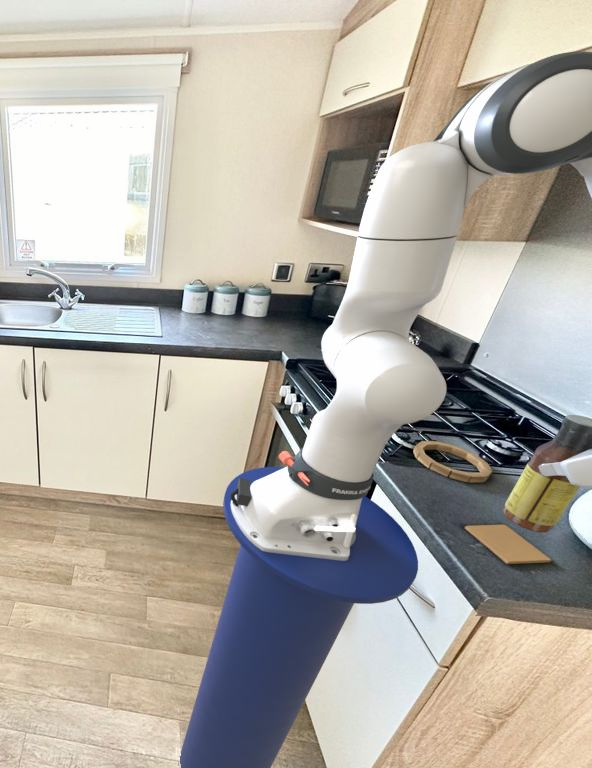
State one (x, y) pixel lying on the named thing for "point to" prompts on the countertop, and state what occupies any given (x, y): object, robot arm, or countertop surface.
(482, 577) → the countertop surface
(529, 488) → the sauce bottle
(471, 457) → the birch ring
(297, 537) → the robot arm
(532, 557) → the cork coaster
